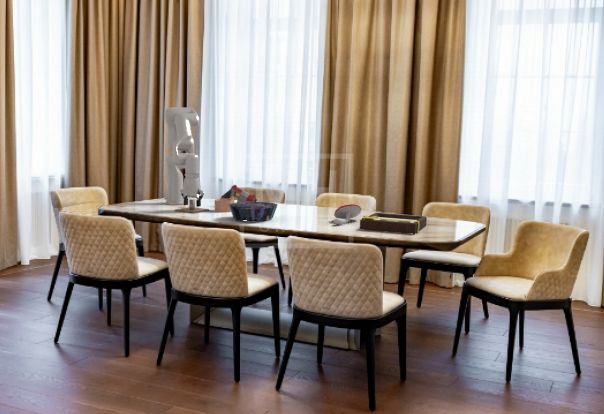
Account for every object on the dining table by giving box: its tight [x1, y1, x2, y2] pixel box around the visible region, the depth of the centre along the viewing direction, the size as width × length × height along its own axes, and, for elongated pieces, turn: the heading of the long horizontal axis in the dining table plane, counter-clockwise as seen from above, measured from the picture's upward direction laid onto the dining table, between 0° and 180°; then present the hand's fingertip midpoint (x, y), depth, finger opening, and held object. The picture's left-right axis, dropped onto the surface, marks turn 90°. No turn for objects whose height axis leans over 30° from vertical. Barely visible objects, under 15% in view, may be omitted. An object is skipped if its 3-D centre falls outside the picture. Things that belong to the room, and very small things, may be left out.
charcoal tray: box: [174, 210, 212, 215], centre depth 379 cm, size 16×16×1 cm
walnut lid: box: [174, 198, 211, 214], centre depth 379 cm, size 14×14×6 cm
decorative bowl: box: [229, 201, 278, 222], centre depth 357 cm, size 26×28×10 cm
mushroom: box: [333, 203, 362, 226], centre depth 353 cm, size 13×26×10 cm, turn 141°
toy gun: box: [219, 184, 258, 203], centre depth 402 cm, size 5×22×15 cm, turn 80°
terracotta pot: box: [214, 198, 235, 213], centre depth 381 cm, size 11×11×7 cm
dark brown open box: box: [359, 212, 428, 235], centre depth 339 cm, size 28×7×30 cm
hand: (192, 205), depth 379 cm, fingers open, 9 cm apart
